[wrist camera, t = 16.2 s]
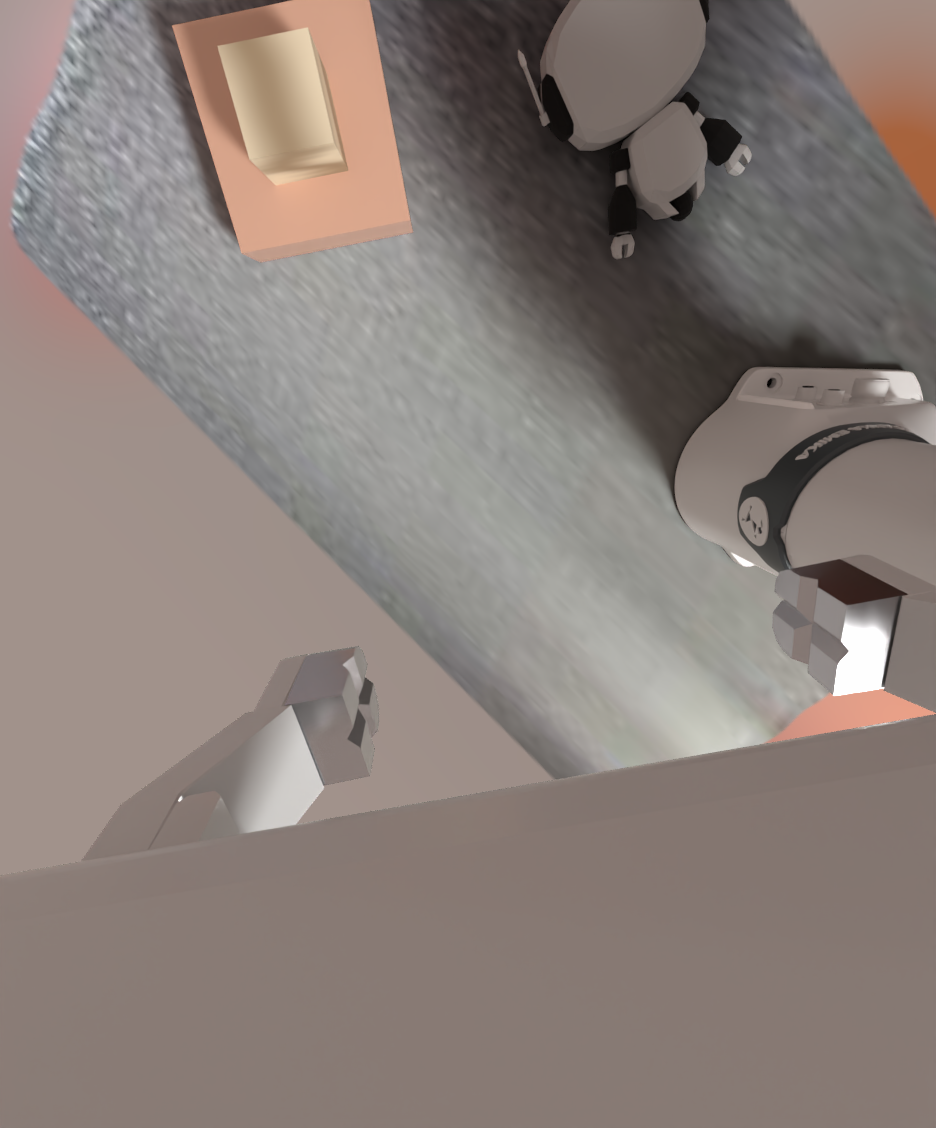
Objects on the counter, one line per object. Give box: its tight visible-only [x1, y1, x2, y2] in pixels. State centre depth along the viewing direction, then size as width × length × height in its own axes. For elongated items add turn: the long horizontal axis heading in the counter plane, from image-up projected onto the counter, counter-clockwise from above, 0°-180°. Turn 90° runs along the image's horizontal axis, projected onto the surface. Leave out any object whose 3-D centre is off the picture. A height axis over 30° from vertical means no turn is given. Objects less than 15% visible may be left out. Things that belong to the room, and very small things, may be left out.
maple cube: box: [217, 27, 348, 185], centre depth 30 cm, size 5×5×5 cm
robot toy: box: [518, 0, 752, 259], centre depth 35 cm, size 12×4×15 cm
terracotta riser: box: [172, 0, 413, 262], centre depth 34 cm, size 12×12×4 cm
